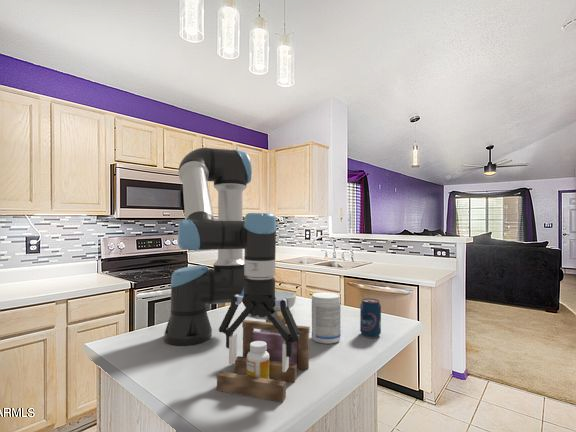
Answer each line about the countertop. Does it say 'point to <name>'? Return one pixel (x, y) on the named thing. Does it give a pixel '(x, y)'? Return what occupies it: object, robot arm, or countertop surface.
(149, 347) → the countertop surface
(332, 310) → the supplement tub
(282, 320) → the bread roll
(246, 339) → the wooden rack
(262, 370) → the supplement bottle
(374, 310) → the soda can
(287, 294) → the cereal bowl
